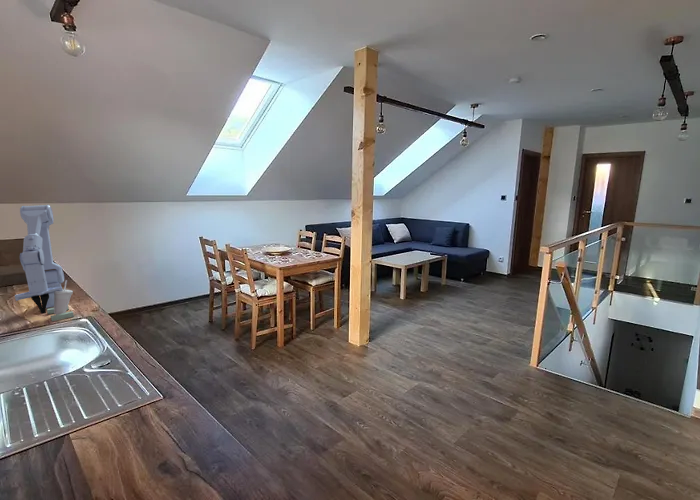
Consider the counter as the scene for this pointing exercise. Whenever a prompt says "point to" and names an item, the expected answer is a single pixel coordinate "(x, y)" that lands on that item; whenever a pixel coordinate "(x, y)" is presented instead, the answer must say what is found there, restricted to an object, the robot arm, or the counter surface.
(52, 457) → the counter surface
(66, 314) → the slot
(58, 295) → the smoothie
